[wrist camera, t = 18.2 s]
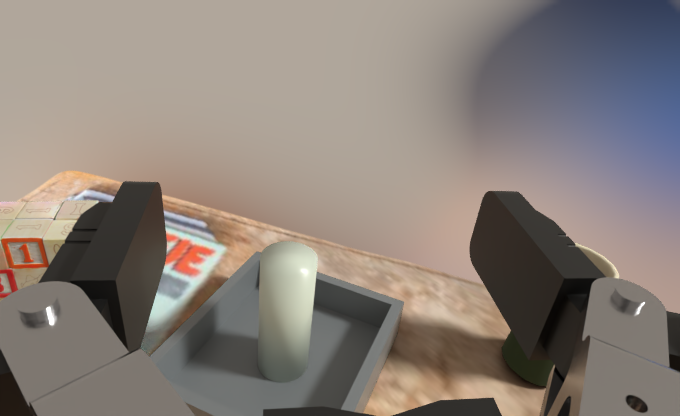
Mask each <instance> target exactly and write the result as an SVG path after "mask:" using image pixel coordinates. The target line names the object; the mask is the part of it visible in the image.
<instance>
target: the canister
mask: <svg viewBox="0 0 680 416" xmlns="http://www.w3.org/2000/svg"><path fill="white" fill-rule="evenodd" d="M317 263H318V257H317V255H316V253H315V252H314V250H313V249H311V248H310V247H308V246H306V245H304V244H301V243H297V242H290V241H285V242H278V243H274V244H271V245H269V246H268V247H266V248H265V249H264V250H263V251H262V253H261V255H260V282H259V328H258V368H259V370H260V372H261V373H262V375H263V376H264V377H266V378H267V379H269V380H271V381H275V382H282V383H284V382H290V381H293V380H296V379H298V378H299V377H301V376H302V375H303V374H304V372H305V371H306V369H307V365H308V355H309V345H310V335H311V324H312V314H313V304H314V294H315V283H316V273H317Z"/></svg>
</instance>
